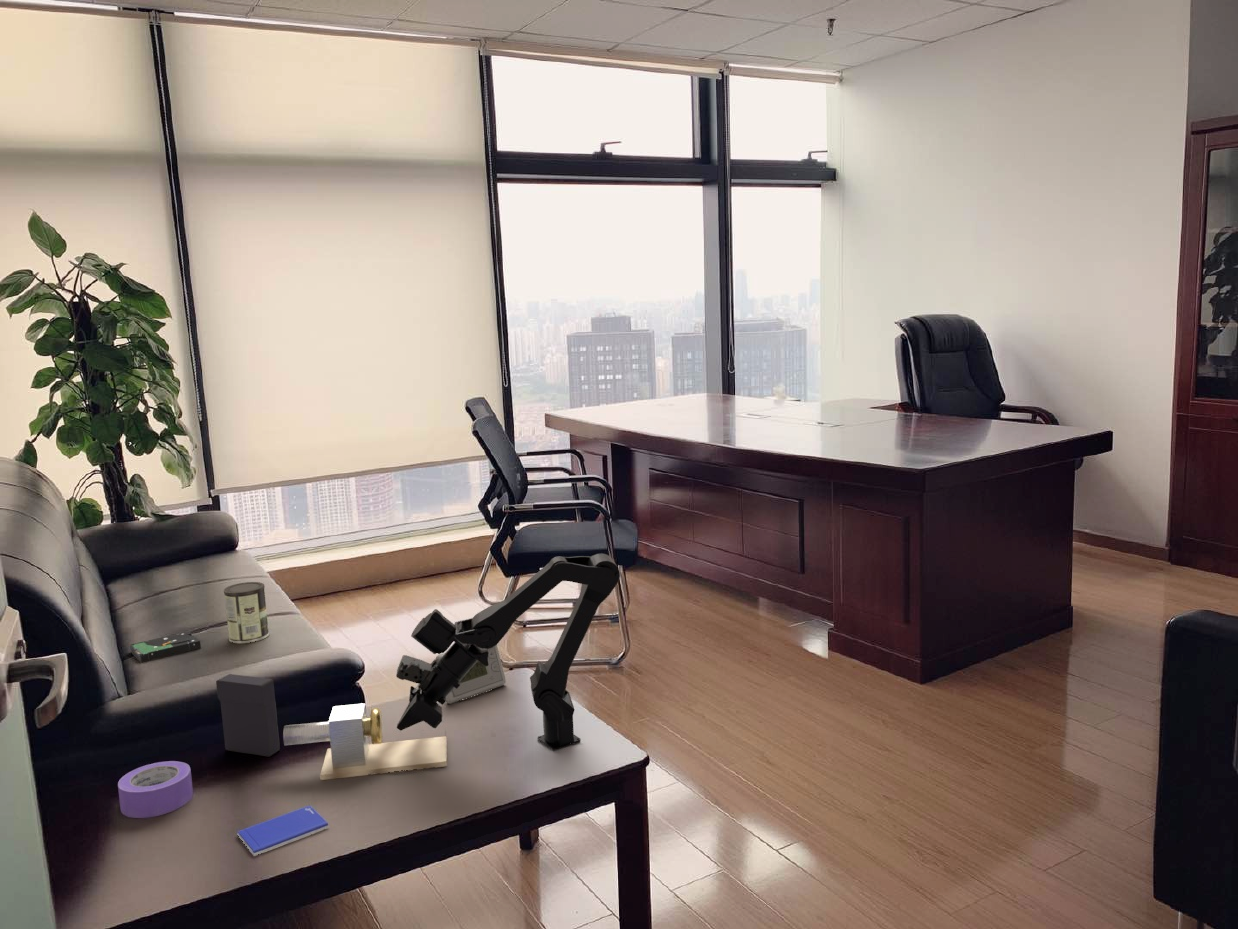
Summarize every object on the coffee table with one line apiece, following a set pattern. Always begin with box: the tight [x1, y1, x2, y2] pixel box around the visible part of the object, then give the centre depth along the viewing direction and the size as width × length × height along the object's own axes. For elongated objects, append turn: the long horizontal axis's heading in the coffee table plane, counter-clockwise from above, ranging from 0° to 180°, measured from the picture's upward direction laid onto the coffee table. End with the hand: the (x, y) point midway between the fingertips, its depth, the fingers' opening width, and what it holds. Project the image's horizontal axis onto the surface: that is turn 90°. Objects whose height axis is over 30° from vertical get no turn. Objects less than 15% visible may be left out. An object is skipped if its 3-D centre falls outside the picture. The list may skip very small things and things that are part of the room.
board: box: [319, 736, 448, 781], centre depth 182 cm, size 23×11×1 cm, turn 100°
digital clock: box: [435, 644, 507, 704], centre depth 213 cm, size 16×9×11 cm, turn 121°
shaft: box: [282, 707, 383, 746], centre depth 180 cm, size 18×7×7 cm, turn 100°
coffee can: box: [222, 581, 270, 644], centre depth 255 cm, size 10×10×14 cm
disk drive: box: [130, 631, 202, 663], centre depth 248 cm, size 10×3×15 cm
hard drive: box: [236, 805, 330, 857], centre depth 158 cm, size 2×8×12 cm
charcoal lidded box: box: [215, 673, 281, 757], centre depth 187 cm, size 11×4×15 cm, turn 71°
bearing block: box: [328, 703, 369, 769], centre depth 180 cm, size 6×7×9 cm
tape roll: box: [117, 760, 194, 819], centre depth 169 cm, size 12×12×5 cm
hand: (398, 728), depth 182 cm, fingers closed
